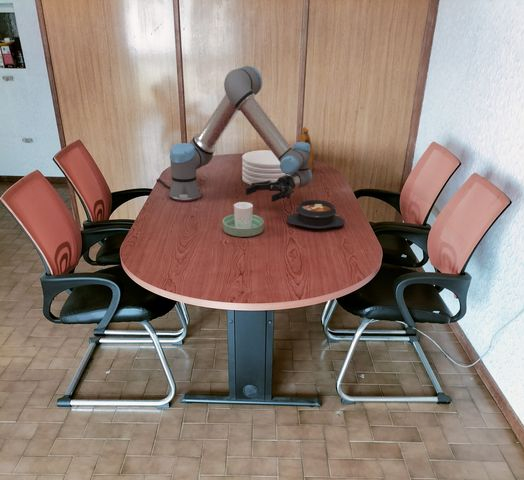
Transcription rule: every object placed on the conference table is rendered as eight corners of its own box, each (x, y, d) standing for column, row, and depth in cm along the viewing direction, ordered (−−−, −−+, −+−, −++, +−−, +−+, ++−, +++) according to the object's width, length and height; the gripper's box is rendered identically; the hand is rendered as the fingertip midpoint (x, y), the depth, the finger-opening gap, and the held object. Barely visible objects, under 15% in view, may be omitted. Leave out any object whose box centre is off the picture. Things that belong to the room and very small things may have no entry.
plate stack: (304, 177, 281) (305, 155, 275) (277, 190, 262) (278, 167, 255) (260, 168, 293) (260, 147, 287) (231, 180, 274) (231, 158, 267)
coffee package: (295, 174, 286) (297, 131, 274) (294, 167, 296) (296, 126, 284) (313, 174, 286) (316, 132, 274) (311, 168, 296) (314, 127, 284)
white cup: (250, 232, 215) (250, 209, 209) (231, 231, 216) (231, 207, 210) (254, 225, 221) (254, 202, 215) (236, 224, 222) (236, 201, 216)
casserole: (286, 231, 218) (287, 212, 214) (286, 215, 234) (287, 197, 229) (345, 233, 218) (348, 214, 213) (342, 217, 233) (344, 199, 228)
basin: (214, 231, 217) (214, 221, 215) (240, 219, 229) (240, 210, 226) (246, 241, 209) (246, 232, 207) (271, 229, 220) (272, 219, 218)
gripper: (310, 197, 229) (282, 210, 215) (265, 186, 241) (236, 197, 227) (311, 180, 225) (283, 192, 211) (265, 169, 237) (236, 180, 223)
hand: (259, 195), depth 219 cm, fingers open, 13 cm apart
